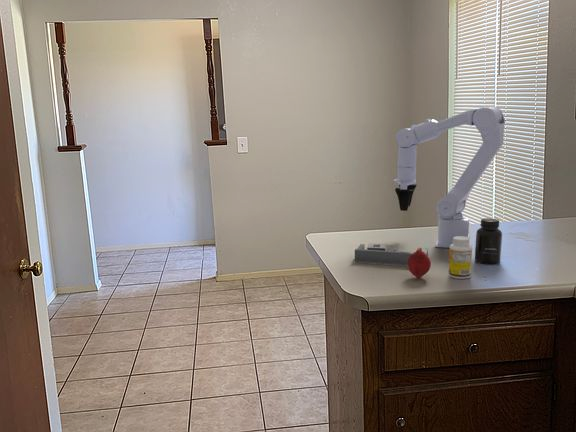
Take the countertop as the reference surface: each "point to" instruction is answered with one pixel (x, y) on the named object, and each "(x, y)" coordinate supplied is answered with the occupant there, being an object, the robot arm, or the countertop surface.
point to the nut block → (376, 246)
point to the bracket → (383, 256)
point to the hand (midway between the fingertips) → (405, 208)
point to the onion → (419, 263)
